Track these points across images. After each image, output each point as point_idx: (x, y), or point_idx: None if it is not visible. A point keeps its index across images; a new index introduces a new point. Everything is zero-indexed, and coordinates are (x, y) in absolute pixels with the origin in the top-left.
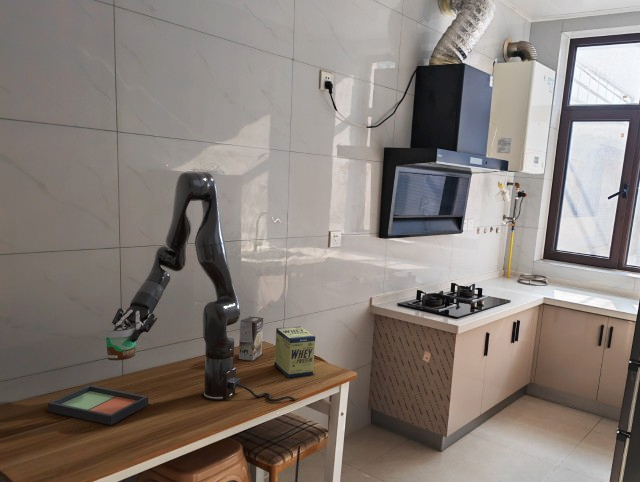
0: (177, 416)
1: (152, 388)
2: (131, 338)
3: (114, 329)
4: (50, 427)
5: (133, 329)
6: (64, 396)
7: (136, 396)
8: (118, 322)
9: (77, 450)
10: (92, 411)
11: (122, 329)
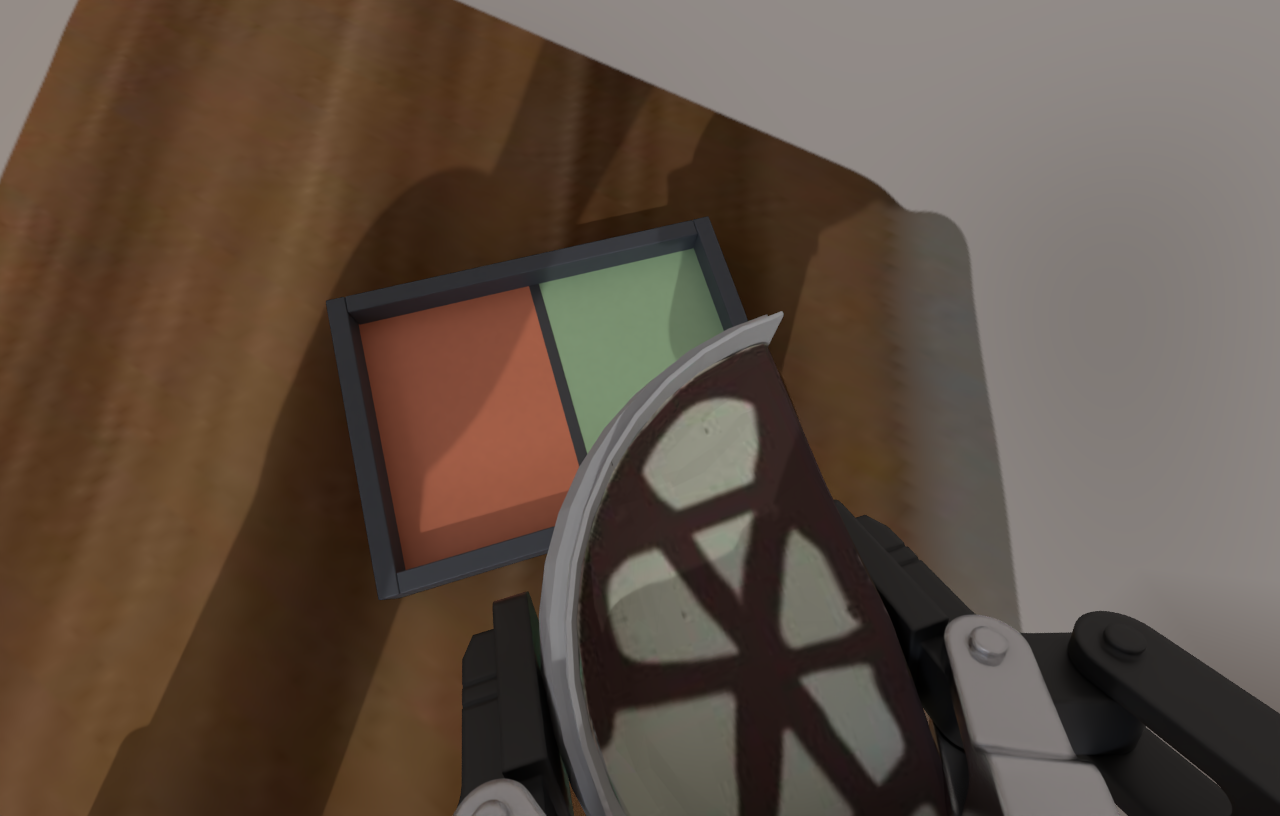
0: (119, 611)
1: None
2: (496, 610)
3: (931, 583)
4: (541, 172)
5: (580, 746)
6: (733, 299)
7: (452, 557)
8: (1026, 684)
9: (266, 126)
10: (453, 280)
11: (774, 625)
